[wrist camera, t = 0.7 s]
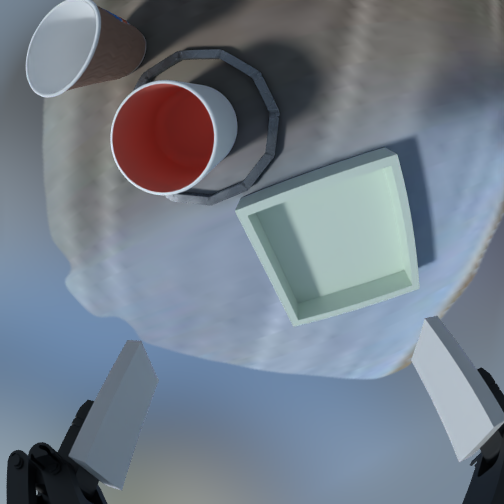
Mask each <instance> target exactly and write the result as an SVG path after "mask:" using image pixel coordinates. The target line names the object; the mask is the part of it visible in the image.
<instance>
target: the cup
mask: <svg viewBox="0 0 504 504" xmlns="http://www.w3.org/2000/svg"><path fill="white" fill-rule="evenodd" d="M236 136H237V118H236V114H235V111H234V109H233V107H232V105H231V103H230V102H229V101H228V99H227V98H226V97H225V96H224V95H223V94H221V93H220V92H219V91H217V90H215V89H213V88H211V87H208V86H205V85H199V84H193V83H186V82H179V81H172V80H159V81H154V82H150V83H147V84H145V85H142V86H141V87H139V88H137V89H136V90H134V91H133V92H132V93H131V94H129V95H128V96H127V97H126V98H125V100H124V101H123V102H122V103H121V105H120V106H119V108H118V110H117V112H116V114H115V116H114V119H113V123H112V127H111V149H112V154H113V157H114V160H115V162H116V164H117V166H118V168H119V170H120V171H121V173H122V174H123V175H124V176H125V178H126V179H127V180H128V181H129V182H131V183H132V184H133V185H134V186H136V187H137V188H139V189H141V190H143V191H145V192H148V193H151V194H156V195H173V194H177V193H181V192H183V191H186V190H188V189H190V188H191V187H193V186H194V185H196V184H197V183H198V182H199V181H200V180H201V179H202V178H204V177H205V176H206V175H207V174H208V173H209V172H210V171H211V170H212V169H213V168H214V167H215V166H216V165H217V164H218V163H220V162H221V161H222V160H223V159H224V158H225V157H226V156H227V155H228V153H229V152H230V150H231V149H232V147H233V145H234V142H235V140H236Z"/></svg>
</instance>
